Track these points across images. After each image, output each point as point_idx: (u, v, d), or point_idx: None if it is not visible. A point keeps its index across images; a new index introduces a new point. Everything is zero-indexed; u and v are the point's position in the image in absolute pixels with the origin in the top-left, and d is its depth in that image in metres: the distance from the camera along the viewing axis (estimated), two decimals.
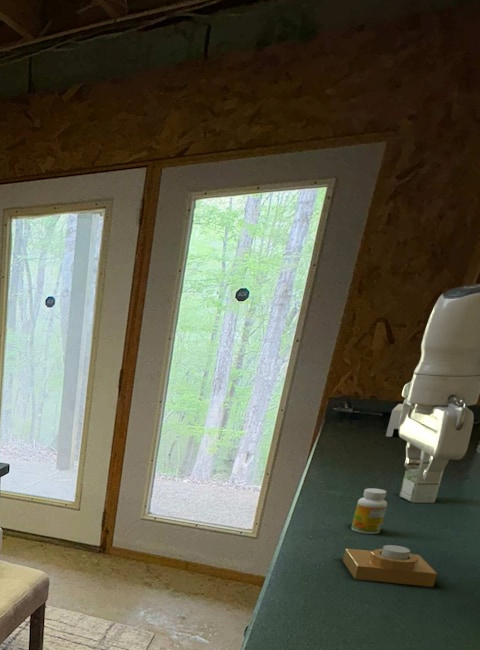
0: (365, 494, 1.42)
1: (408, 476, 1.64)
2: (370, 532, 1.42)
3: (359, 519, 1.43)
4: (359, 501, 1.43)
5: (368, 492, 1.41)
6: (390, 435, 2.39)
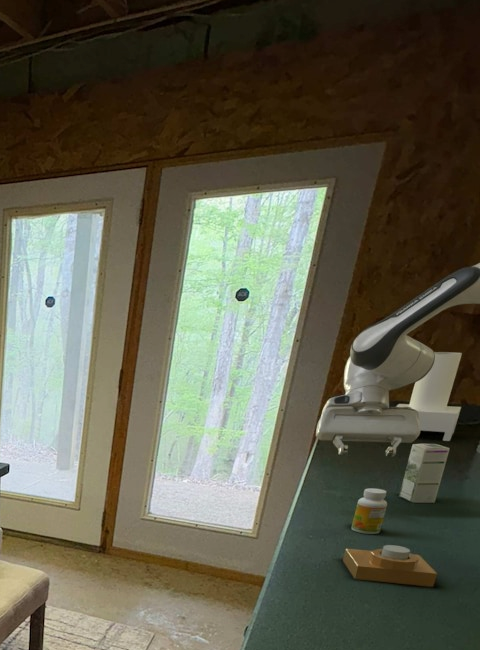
0: (365, 494, 1.42)
1: (408, 476, 1.64)
2: (370, 532, 1.42)
3: (359, 519, 1.43)
4: (359, 501, 1.43)
5: (368, 492, 1.41)
6: None
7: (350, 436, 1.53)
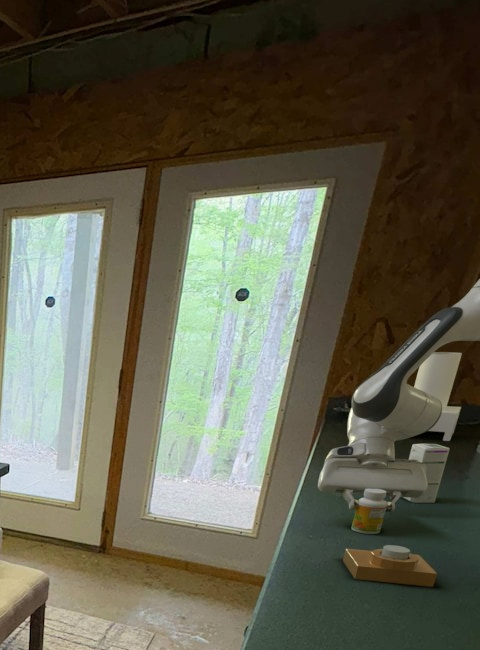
0: (365, 494, 1.42)
1: None
2: (370, 532, 1.42)
3: (359, 519, 1.43)
4: (359, 501, 1.43)
5: (368, 492, 1.41)
6: None
7: None
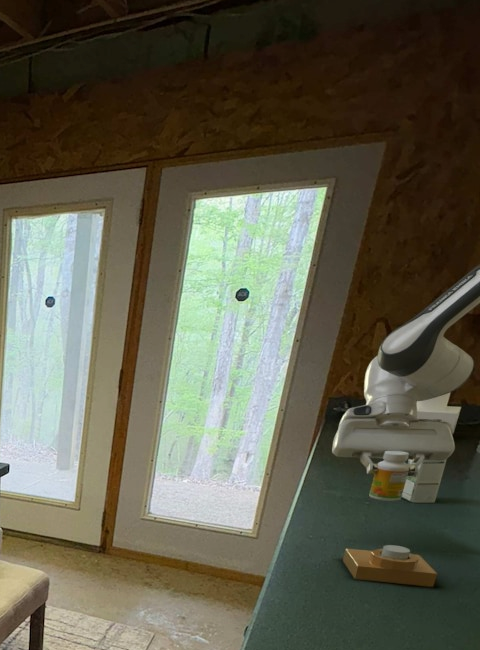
0: (385, 457, 1.29)
1: (408, 476, 1.64)
2: (390, 499, 1.29)
3: (378, 484, 1.30)
4: (378, 465, 1.30)
5: (388, 454, 1.28)
6: None
7: None
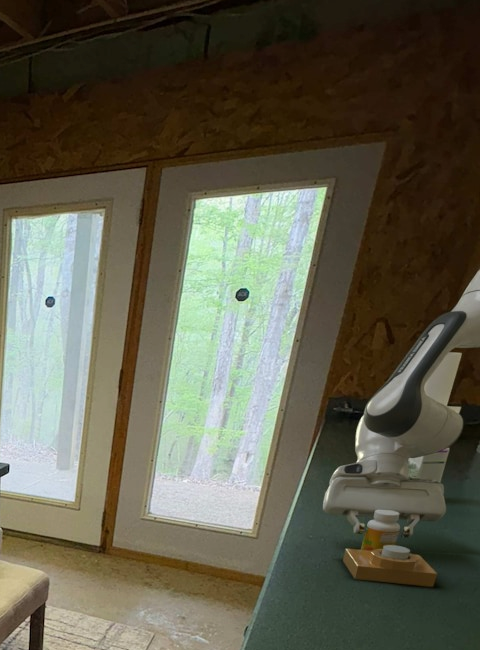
0: (375, 516, 1.27)
1: None
2: None
3: (369, 543, 1.29)
4: (369, 524, 1.29)
5: (379, 514, 1.27)
6: None
7: (363, 511, 1.32)
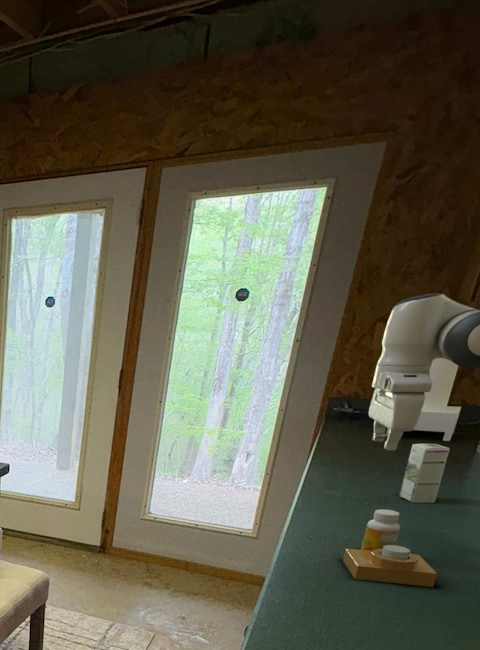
0: (375, 516, 1.27)
1: (408, 476, 1.64)
2: None
3: (369, 543, 1.29)
4: (369, 524, 1.29)
5: (379, 514, 1.27)
6: None
7: None
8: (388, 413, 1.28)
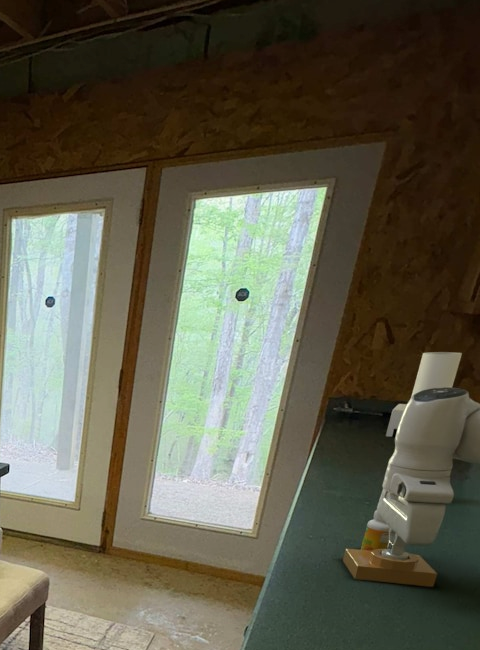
0: (375, 516, 1.27)
1: None
2: None
3: (369, 543, 1.29)
4: (369, 524, 1.29)
5: None
6: (390, 435, 2.39)
7: None
8: (401, 521, 1.11)
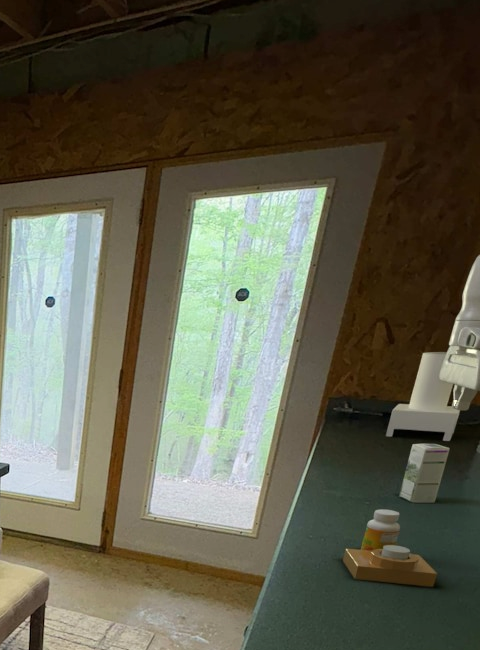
0: (375, 516, 1.27)
1: (408, 476, 1.64)
2: None
3: (369, 543, 1.29)
4: (369, 524, 1.29)
5: (379, 514, 1.27)
6: (390, 435, 2.39)
7: None
8: (469, 372, 1.18)
